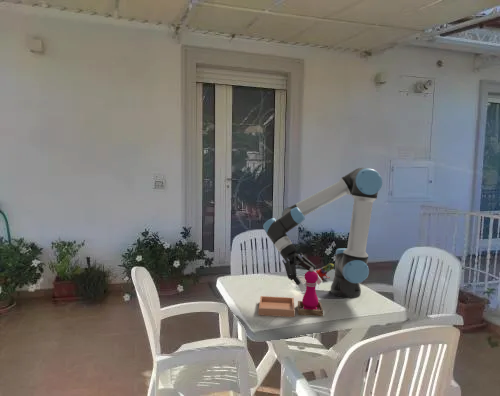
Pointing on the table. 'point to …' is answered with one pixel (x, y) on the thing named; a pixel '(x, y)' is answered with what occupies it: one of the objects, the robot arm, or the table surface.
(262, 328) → the table surface
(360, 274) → the robot arm
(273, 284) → the table surface
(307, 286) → the pepper mill
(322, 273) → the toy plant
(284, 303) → the terracotta tray
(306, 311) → the small wooden tray
